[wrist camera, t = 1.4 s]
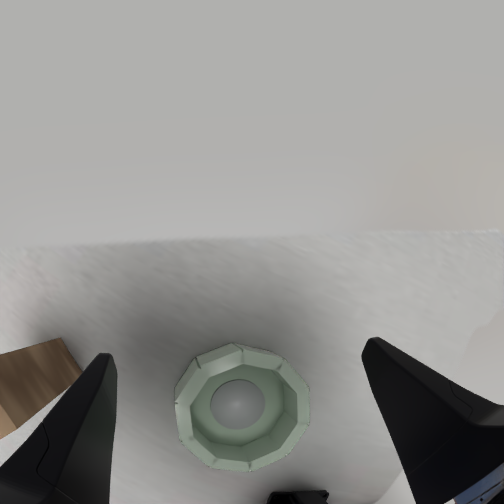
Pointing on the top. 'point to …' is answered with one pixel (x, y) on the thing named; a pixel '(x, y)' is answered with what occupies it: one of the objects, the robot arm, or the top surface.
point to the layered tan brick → (33, 381)
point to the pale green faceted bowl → (241, 408)
